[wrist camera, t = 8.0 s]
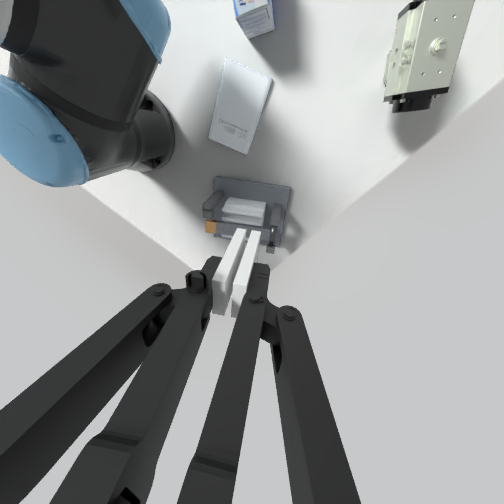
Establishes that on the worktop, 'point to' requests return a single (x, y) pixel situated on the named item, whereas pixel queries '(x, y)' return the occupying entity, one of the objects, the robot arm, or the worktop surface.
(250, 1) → the medicine box
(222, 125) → the external hard drive
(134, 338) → the robot arm
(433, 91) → the pneumatic valve
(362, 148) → the worktop surface
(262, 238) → the lever
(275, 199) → the heatsink base
